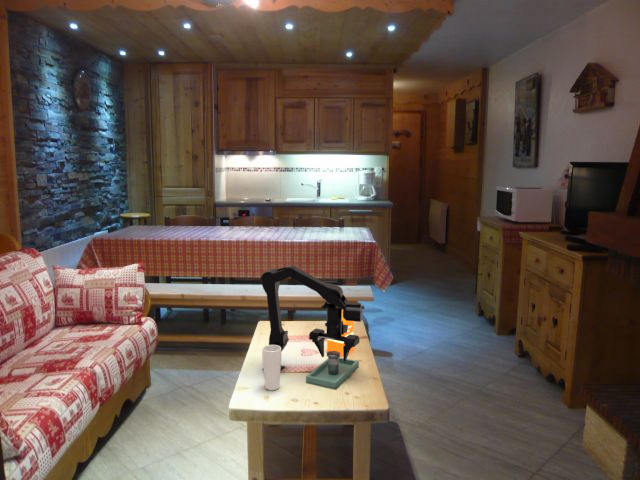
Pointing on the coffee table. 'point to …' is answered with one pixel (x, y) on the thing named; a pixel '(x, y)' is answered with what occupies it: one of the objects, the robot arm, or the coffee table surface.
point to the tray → (332, 381)
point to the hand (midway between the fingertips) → (333, 359)
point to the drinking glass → (271, 366)
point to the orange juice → (338, 345)
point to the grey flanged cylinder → (333, 362)
